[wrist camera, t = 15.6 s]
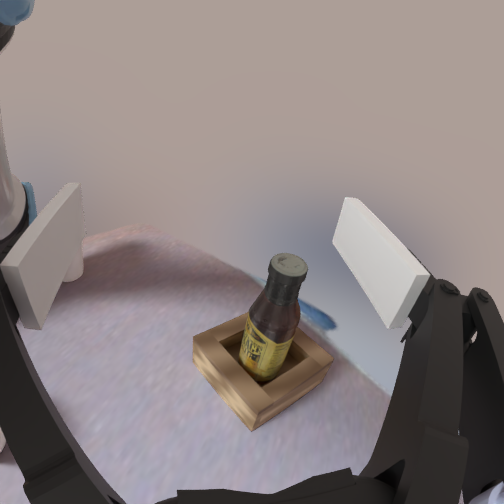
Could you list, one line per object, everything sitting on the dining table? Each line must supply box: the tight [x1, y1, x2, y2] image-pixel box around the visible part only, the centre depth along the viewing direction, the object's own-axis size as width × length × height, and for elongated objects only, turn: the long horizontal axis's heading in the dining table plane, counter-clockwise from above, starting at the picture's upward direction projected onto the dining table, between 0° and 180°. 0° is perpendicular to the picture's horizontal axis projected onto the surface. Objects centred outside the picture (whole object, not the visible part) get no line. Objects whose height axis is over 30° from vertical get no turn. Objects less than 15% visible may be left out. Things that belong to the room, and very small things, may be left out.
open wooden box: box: [193, 312, 334, 432], centre depth 42 cm, size 14×14×6 cm
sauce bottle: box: [238, 253, 308, 385], centre depth 38 cm, size 7×6×20 cm
